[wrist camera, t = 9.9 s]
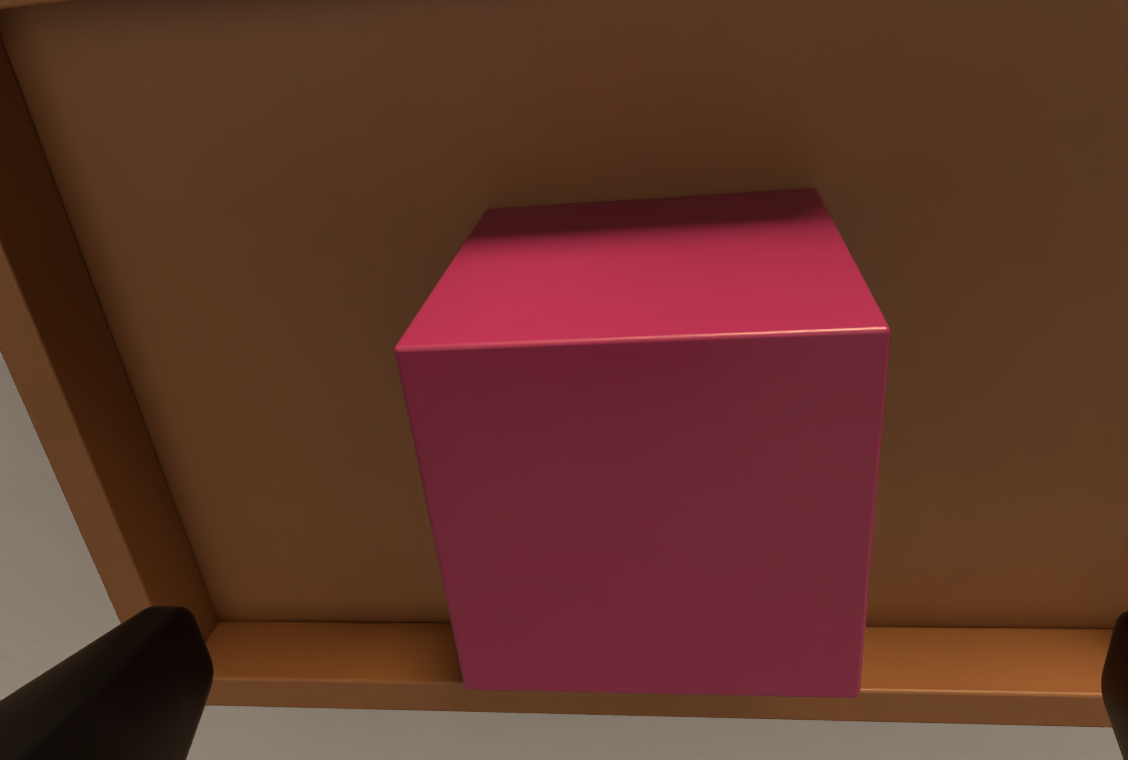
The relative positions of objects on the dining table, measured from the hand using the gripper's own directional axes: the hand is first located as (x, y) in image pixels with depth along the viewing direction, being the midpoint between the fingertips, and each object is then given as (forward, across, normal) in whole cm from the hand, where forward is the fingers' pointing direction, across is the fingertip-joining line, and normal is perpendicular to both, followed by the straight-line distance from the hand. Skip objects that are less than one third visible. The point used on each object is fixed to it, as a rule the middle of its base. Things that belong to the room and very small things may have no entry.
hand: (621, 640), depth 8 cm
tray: (+7, 0, 0) cm, 7 cm away
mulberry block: (+6, 0, 0) cm, 7 cm away
